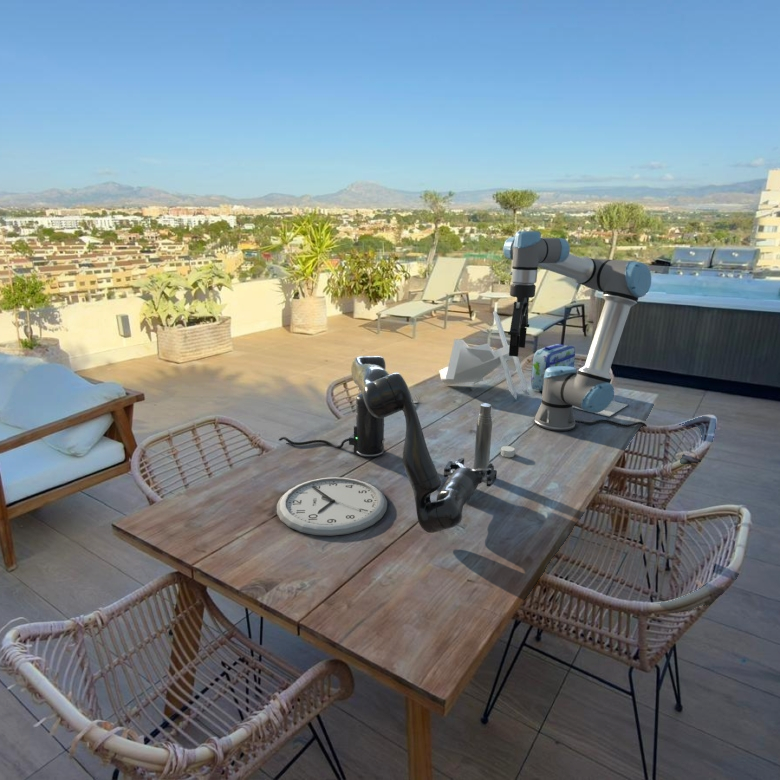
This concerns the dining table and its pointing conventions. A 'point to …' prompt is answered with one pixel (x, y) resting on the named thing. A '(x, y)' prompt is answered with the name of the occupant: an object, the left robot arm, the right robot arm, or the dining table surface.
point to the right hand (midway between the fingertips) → (517, 351)
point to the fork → (416, 400)
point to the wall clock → (331, 506)
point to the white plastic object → (481, 362)
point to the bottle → (483, 437)
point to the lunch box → (550, 362)
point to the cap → (507, 451)
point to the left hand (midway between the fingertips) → (476, 463)
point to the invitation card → (610, 408)
